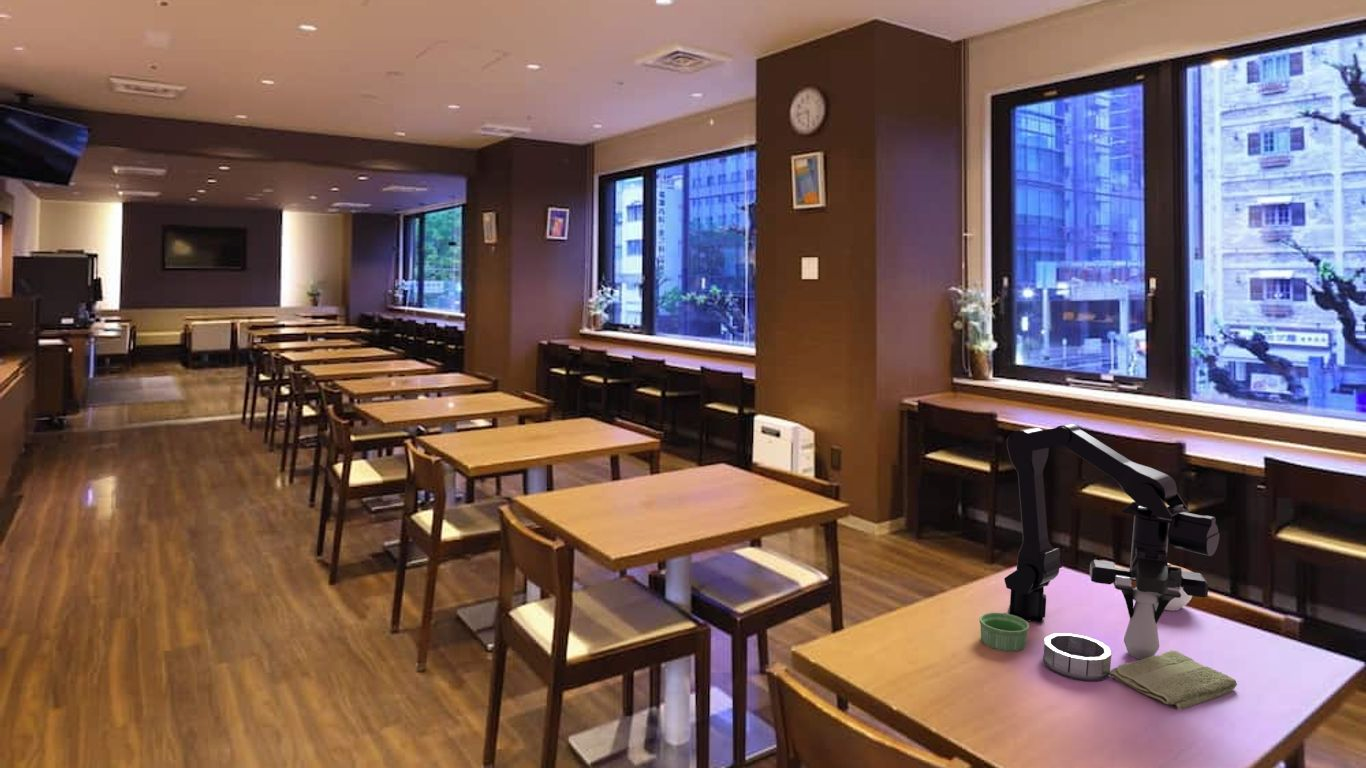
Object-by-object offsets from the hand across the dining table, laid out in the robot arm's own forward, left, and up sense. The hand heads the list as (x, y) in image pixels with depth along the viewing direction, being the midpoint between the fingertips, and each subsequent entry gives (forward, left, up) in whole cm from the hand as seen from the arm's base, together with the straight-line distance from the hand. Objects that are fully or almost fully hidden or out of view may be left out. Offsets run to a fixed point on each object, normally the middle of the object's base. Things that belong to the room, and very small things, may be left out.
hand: (1142, 621), depth 152 cm
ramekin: (-24, -5, -7) cm, 25 cm away
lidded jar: (+8, +30, -7) cm, 32 cm away
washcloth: (+4, -11, -7) cm, 13 cm away
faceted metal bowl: (-11, -10, -6) cm, 17 cm away
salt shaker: (0, 0, -7) cm, 7 cm away
